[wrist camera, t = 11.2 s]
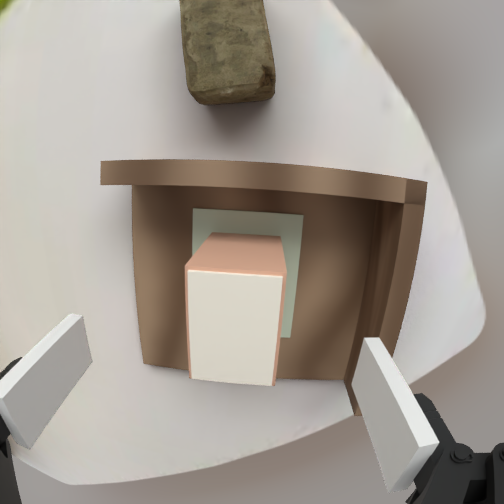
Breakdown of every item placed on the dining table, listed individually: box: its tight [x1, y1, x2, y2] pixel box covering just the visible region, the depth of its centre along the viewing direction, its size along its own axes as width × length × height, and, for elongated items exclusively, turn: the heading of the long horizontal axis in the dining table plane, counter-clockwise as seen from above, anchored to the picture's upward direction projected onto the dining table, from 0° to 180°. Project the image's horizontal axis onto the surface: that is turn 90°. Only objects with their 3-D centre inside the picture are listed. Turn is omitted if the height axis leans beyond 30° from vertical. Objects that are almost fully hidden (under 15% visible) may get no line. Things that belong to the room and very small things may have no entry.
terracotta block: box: [185, 232, 287, 386], centre depth 20 cm, size 7×5×8 cm
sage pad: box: [192, 208, 304, 338], centre depth 24 cm, size 8×10×1 cm
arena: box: [101, 159, 427, 416], centre depth 22 cm, size 20×18×6 cm
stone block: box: [179, 0, 276, 105], centre depth 18 cm, size 6×12×5 cm, turn 8°
